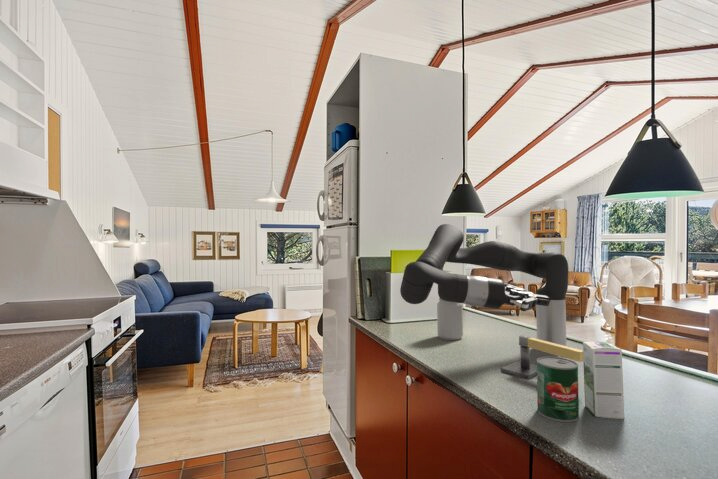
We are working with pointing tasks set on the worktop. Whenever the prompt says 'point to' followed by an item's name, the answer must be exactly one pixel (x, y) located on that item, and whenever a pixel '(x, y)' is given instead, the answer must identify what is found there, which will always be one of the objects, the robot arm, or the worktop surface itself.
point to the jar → (450, 320)
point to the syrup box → (603, 379)
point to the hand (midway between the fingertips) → (548, 301)
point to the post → (522, 365)
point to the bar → (552, 348)
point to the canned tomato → (557, 389)
